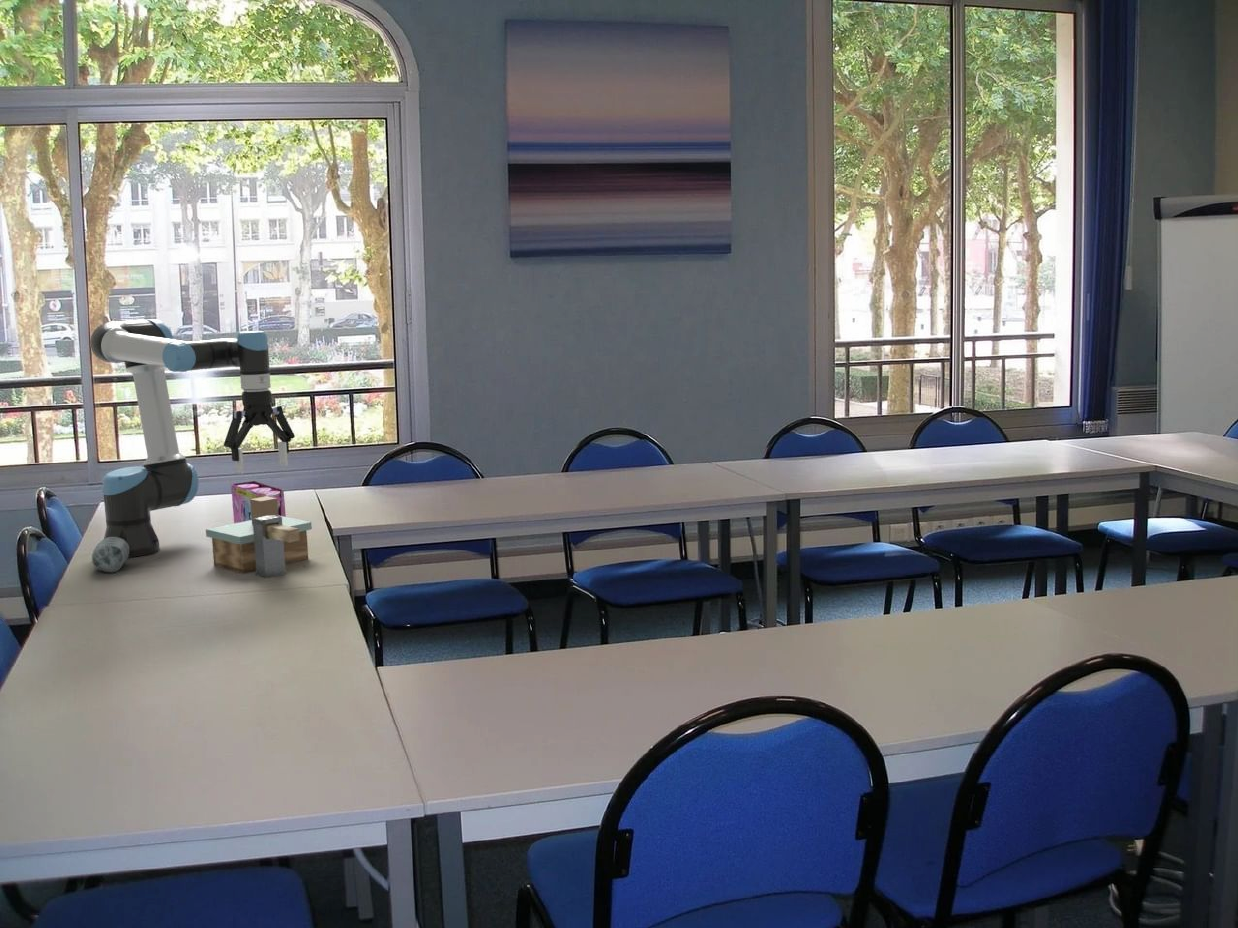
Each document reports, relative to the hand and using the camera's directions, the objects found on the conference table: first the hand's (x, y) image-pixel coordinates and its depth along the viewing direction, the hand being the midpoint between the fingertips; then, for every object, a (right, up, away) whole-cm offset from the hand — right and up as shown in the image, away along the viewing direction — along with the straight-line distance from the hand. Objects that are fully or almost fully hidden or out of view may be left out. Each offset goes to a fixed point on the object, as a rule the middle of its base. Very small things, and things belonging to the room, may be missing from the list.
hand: (262, 469), depth 330 cm
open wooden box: (-1, -25, +3) cm, 25 cm away
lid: (-1, -17, +1) cm, 17 cm away
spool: (-40, -27, -1) cm, 48 cm away
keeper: (+6, -27, -11) cm, 30 cm away
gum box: (-13, -19, +42) cm, 47 cm away
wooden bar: (+8, -17, -15) cm, 24 cm away
